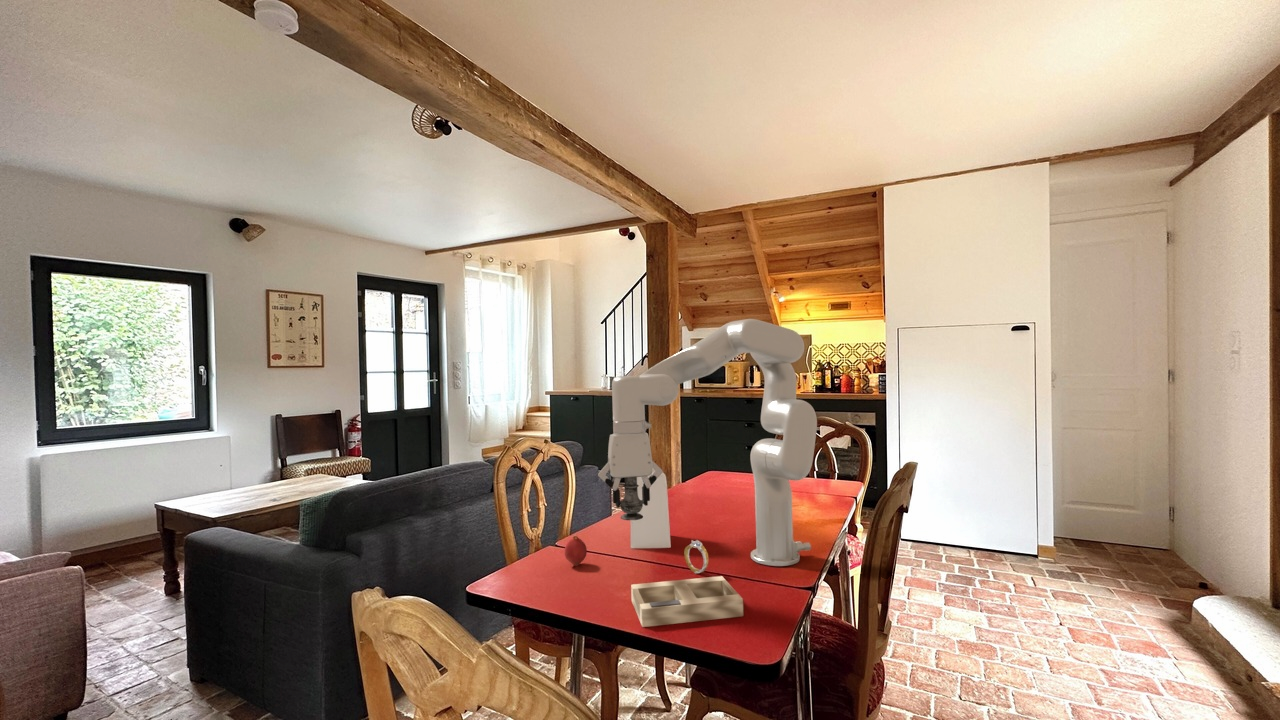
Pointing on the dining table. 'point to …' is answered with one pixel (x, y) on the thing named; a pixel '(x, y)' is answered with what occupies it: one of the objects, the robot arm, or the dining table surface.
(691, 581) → the wooden compartment tray
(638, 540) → the milk
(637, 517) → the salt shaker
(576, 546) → the onion
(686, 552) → the gemstone ring
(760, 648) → the dining table surface
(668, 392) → the robot arm
